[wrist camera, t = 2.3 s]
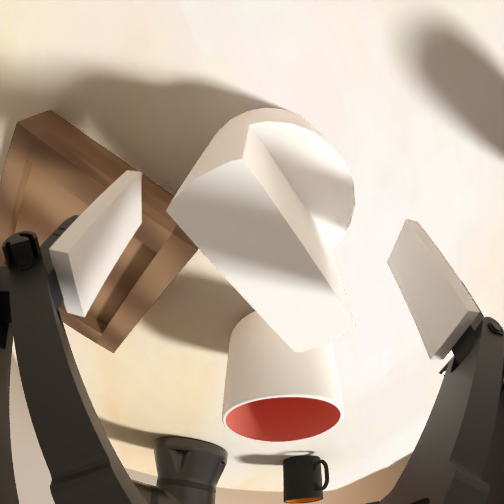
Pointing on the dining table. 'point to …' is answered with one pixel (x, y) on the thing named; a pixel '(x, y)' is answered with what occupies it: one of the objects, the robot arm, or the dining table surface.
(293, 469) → the mug
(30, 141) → the walnut base
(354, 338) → the dining table surface
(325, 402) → the cup
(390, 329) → the dining table surface
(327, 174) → the cylinder with rectangular tab
